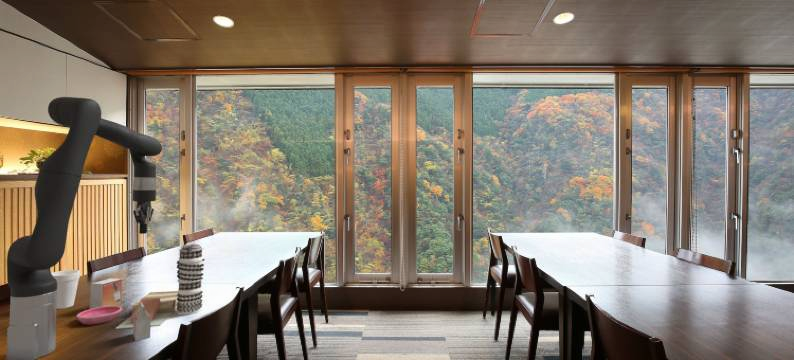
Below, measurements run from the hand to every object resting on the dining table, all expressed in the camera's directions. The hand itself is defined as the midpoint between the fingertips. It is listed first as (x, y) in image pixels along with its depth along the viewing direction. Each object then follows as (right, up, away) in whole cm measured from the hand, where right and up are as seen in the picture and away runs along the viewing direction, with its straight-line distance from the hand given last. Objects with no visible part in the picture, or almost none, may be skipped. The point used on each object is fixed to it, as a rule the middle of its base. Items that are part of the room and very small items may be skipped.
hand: (143, 233), depth 139 cm
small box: (-14, -29, -1) cm, 32 cm away
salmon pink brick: (+9, -27, -11) cm, 31 cm away
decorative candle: (+20, -29, -3) cm, 35 cm away
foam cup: (-32, -29, 0) cm, 43 cm away
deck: (+7, -29, 0) cm, 30 cm away
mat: (+10, -29, -13) cm, 33 cm away
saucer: (-6, -29, -13) cm, 32 cm away
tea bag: (+18, -29, -26) cm, 43 cm away
